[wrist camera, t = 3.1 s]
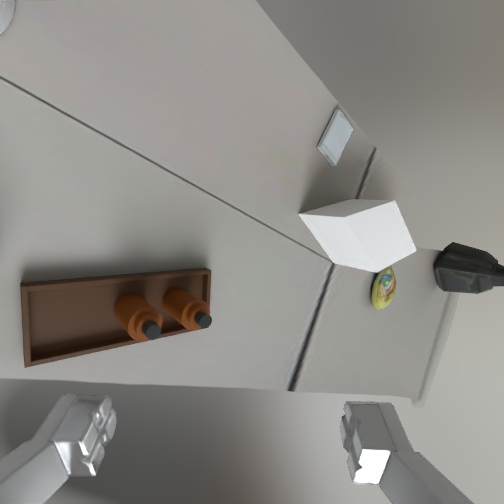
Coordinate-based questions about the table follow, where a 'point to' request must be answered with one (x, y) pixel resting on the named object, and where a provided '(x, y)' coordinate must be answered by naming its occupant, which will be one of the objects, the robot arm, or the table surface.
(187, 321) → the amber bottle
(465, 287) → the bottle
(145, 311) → the amber bottle middle
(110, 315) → the tray
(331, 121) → the hard drive
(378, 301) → the cell model
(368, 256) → the box
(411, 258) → the table surface
